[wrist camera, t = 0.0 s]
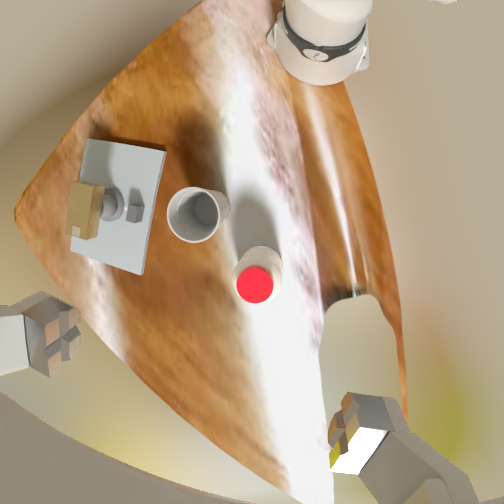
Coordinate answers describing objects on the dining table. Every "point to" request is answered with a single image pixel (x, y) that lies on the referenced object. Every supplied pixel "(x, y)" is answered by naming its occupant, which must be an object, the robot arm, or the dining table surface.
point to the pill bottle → (258, 275)
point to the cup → (197, 213)
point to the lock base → (121, 202)
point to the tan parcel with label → (84, 209)
